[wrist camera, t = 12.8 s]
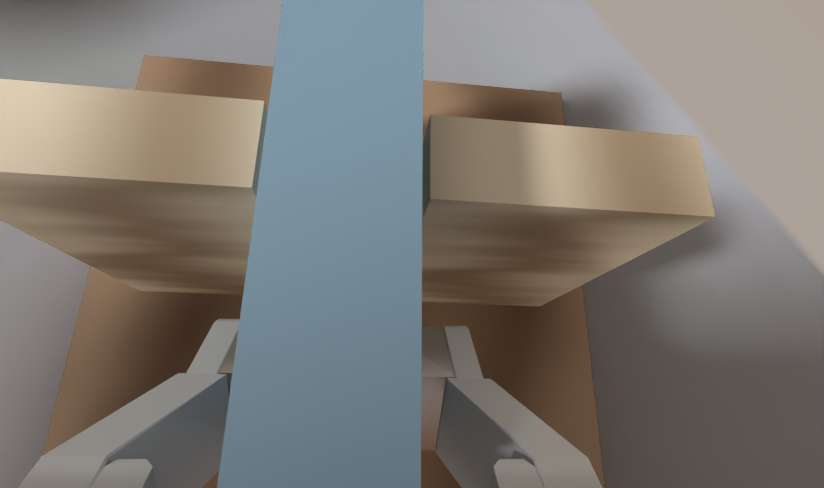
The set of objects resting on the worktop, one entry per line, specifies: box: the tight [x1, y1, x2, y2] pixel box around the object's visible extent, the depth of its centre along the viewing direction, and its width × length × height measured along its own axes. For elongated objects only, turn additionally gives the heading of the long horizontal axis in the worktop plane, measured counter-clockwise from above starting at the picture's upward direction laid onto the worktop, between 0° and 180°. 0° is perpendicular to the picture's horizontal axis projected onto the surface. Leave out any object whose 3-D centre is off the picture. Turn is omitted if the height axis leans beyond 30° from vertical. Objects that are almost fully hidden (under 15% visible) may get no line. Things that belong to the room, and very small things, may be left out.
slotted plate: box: [217, 0, 423, 488], centre depth 11 cm, size 12×2×10 cm, turn 0°
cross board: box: [0, 55, 716, 488], centre depth 15 cm, size 20×20×11 cm
